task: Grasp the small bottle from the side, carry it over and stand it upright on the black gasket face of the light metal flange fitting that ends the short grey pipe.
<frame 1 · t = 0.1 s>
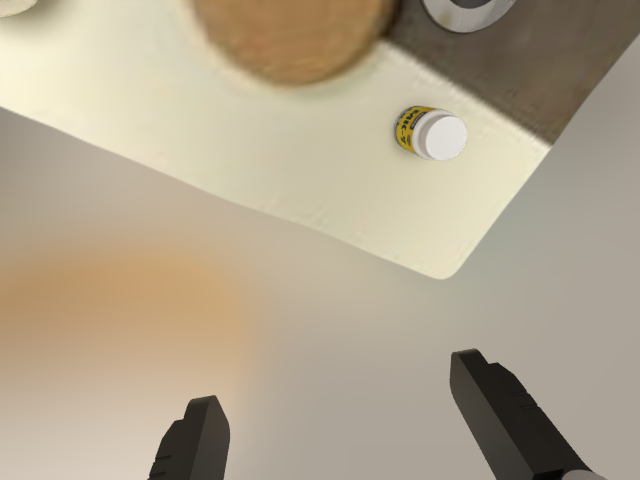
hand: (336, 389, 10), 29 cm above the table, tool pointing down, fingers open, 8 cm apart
supplement bottle: (412, 128, 36), on the table
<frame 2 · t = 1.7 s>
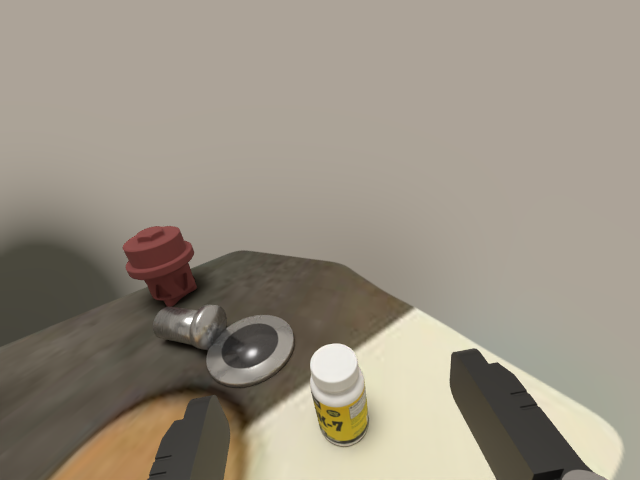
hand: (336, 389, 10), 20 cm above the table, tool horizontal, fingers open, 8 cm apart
flange fitting: (252, 349, 39), on the table
mechanical component: (177, 295, 53), on the table
supplement bottle: (344, 423, 29), on the table
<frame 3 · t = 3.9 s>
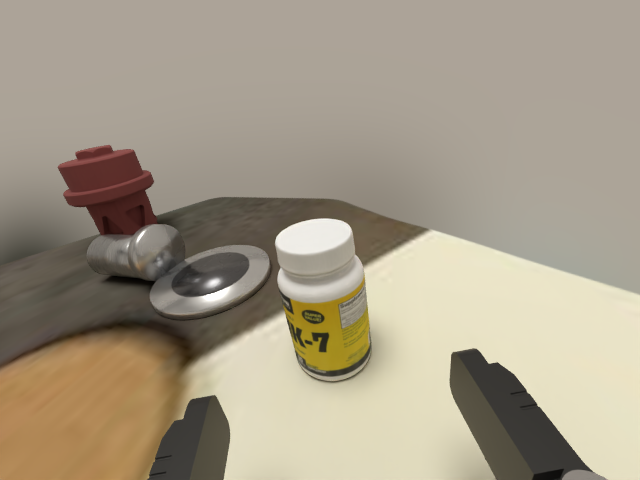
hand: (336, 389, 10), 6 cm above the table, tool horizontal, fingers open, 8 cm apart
flange fitting: (214, 280, 29), on the table
mechanical component: (135, 238, 43), on the table
supplement bottle: (334, 353, 19), on the table
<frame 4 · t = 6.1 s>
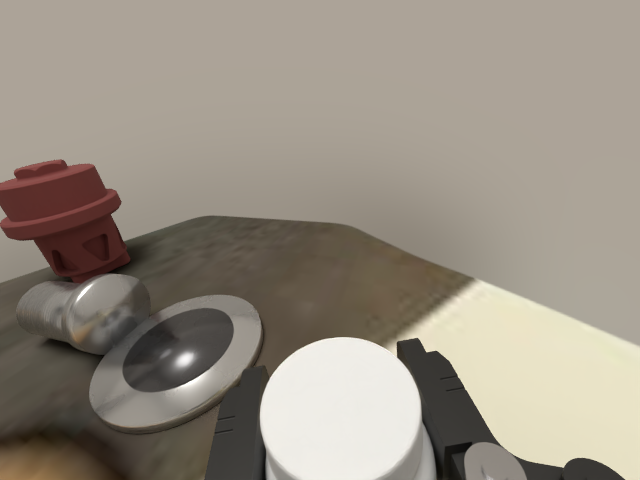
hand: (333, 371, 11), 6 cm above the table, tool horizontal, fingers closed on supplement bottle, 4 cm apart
flange fitting: (185, 353, 21), on the table
mechanical component: (100, 272, 35), on the table
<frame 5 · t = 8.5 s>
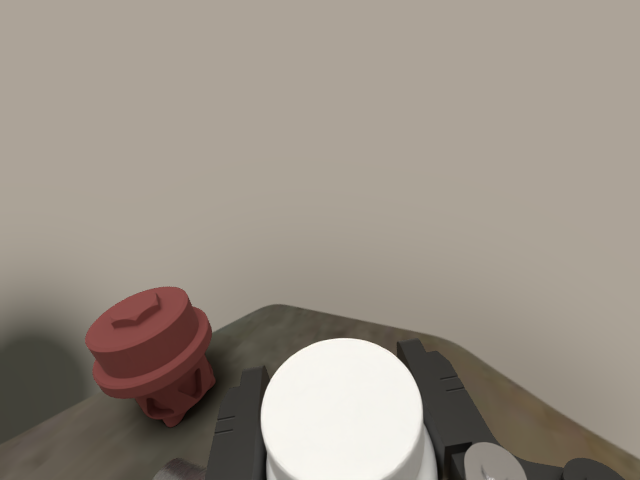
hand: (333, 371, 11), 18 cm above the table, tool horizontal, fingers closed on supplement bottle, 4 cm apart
mechanical component: (184, 397, 32), on the table
when the fingers open (8 cm above the table, at t = 11.0 s): supplement bottle stays where it is, resting on flange fitting.
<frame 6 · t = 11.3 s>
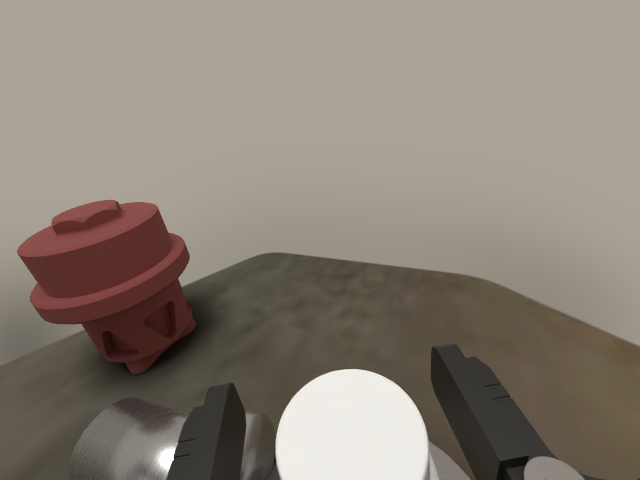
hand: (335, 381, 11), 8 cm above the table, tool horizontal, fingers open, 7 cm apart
mechanical component: (157, 344, 26), on the table
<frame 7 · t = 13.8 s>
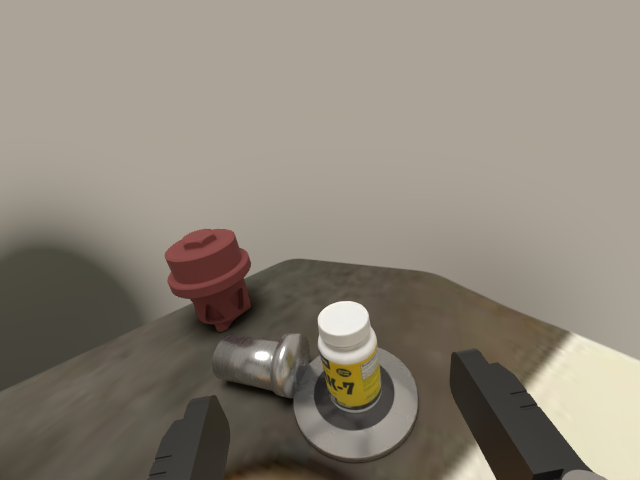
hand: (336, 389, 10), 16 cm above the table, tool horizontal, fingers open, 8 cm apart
flange fitting: (354, 396, 28), on the table
mechanical component: (228, 316, 42), on the table
supplement bottle: (355, 391, 27), point 1 cm above the table, touching flange fitting
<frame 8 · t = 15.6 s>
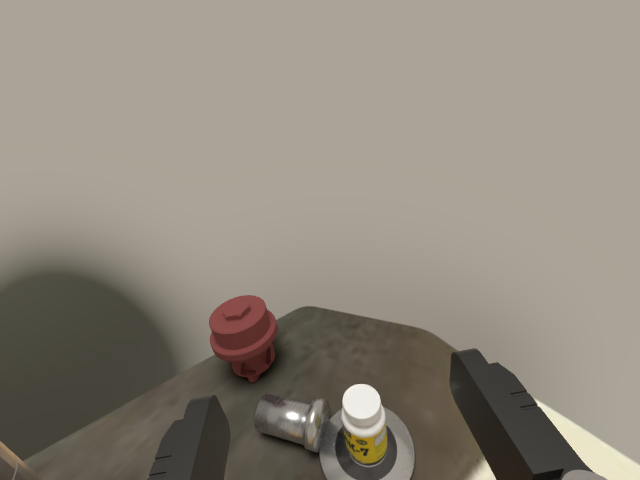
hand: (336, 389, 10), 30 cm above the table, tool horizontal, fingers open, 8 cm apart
flange fitting: (366, 450, 36), on the table
mechanical component: (256, 366, 50), on the table
supplement bottle: (367, 447, 36), point 1 cm above the table, touching flange fitting
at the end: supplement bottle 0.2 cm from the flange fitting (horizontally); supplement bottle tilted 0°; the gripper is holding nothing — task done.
